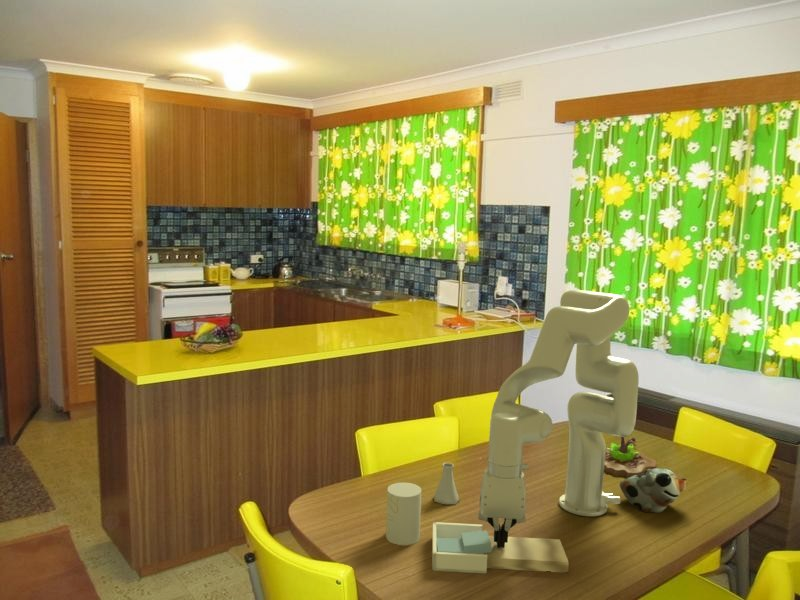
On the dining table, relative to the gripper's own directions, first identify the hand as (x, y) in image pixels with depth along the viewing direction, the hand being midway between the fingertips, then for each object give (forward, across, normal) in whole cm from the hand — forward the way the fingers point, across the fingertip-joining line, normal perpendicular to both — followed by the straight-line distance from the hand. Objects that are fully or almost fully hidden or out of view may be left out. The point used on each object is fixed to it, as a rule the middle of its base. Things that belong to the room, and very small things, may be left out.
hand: (500, 544), depth 147 cm
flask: (+3, +12, -29) cm, 31 cm away
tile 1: (+2, +12, +1) cm, 12 cm away
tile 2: (+1, +5, 0) cm, 5 cm away
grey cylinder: (+3, +23, -7) cm, 24 cm away
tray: (+3, +10, 0) cm, 10 cm away
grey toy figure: (+3, -45, -33) cm, 56 cm away
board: (+3, -6, 0) cm, 6 cm away
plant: (+4, -44, -62) cm, 76 cm away
